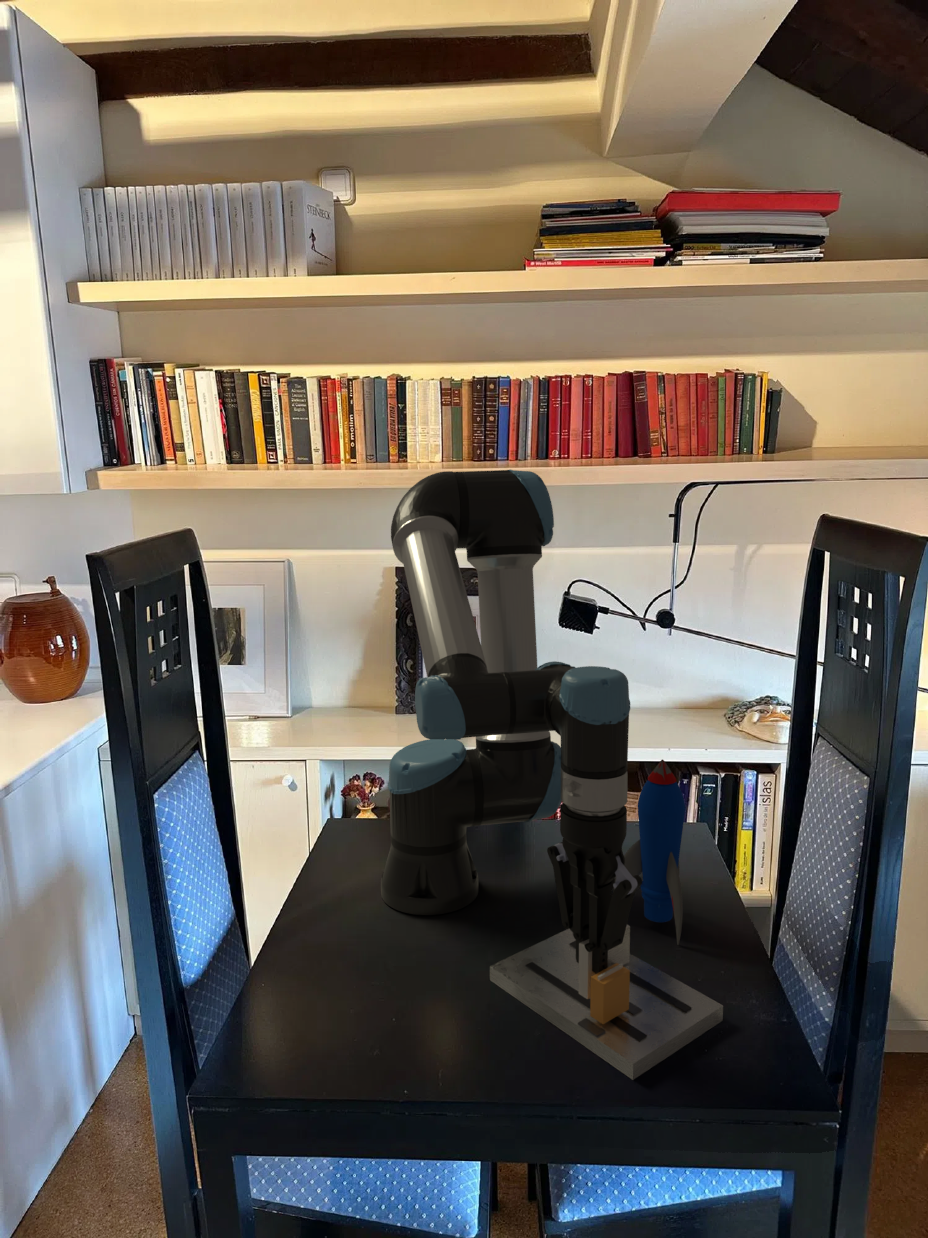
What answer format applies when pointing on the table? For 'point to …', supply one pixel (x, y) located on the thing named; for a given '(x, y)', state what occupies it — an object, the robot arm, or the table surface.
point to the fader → (609, 993)
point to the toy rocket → (659, 847)
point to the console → (633, 1038)
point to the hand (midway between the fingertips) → (591, 992)
